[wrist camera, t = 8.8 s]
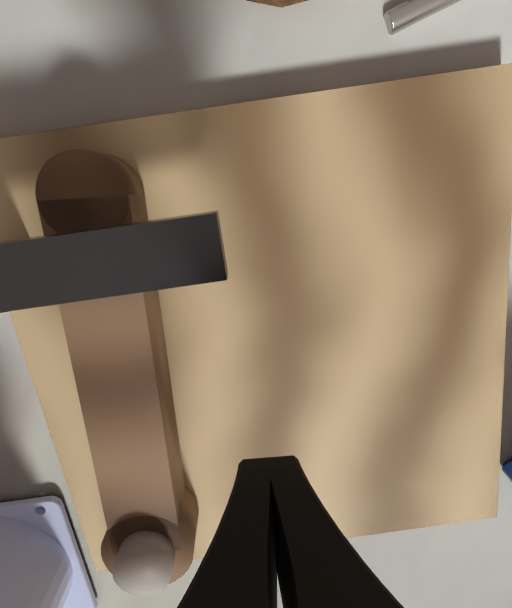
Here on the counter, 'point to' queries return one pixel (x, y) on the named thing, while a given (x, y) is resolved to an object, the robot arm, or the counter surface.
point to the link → (123, 384)
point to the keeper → (111, 261)
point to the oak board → (315, 295)
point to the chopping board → (391, 11)
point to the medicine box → (508, 470)
